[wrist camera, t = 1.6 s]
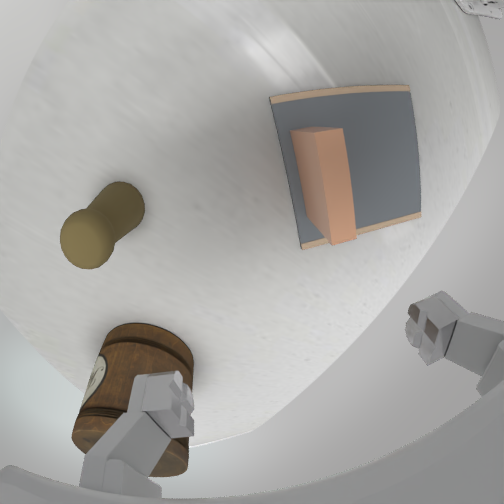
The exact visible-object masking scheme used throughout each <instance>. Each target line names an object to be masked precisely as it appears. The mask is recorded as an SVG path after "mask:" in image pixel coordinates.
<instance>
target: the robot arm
mask: <svg viewBox="0 0 504 504" xmlns="http://www.w3.org/2000/svg"><path fill="white" fill-rule="evenodd" d="M455 1H456V2H457V3H458V5H459V6H460V7H461V9H462V10H463V11H464V12H465V13H467V14H473V15H480V16H485V17H491V18H495V19H501V18H502V11H501V8H502V7H504V0H455ZM408 314H409V315H410V318H409V320H408V321H407V323H406V329H405V331H406V336H407V338H408V341H409V342H410V344H411V345H412V346H414V347H416V348H419V353H418V354H419V355H420V357H421V358H422V359H423V361H424V362H425V363H426V365H427V366H428V365H430V364H432V363H434V362H436V361H438V360H440V359H441V358H444V357H445V358H446V359H448V360H450V361H452V362H454V363H456V364H458V365H460V366H462V367H464V368H466V369H468V370H470V371H472V372H474V373H476V374H478V375H480V376H482V378H481V379H480V381H479V383H478V385H477V388H476V389H477V390H478V392H479V393H480V395H481V396H482V398H480V399H479V400H477V401H476V402H475V403H474V404H472V405H471V406H469V407H468V408H467V409H465V410H464V411H463V412H461V413H459V414H458V415H457V416H455V417H454V418H452V419H450V420H449V421H447V422H446V423H444V424H443V425H441V426H440V427H438V428H436V429H434V430H433V431H431V432H429V433H428V434H426V435H424V436H422V437H420V438H419V439H417V440H415V441H413V442H411V443H409V444H407V445H405V446H403V447H401V448H399V449H397V450H395V451H393V452H391V453H389V454H387V455H384V456H382V457H380V458H378V459H375V460H373V461H370V462H368V463H365V464H363V465H361V466H358V467H355V468H352V469H350V470H347V471H344V472H341V473H338V474H335V475H332V476H329V477H326V478H322V479H319V480H316V481H311V482H308V483H304V484H300V485H296V486H291V487H287V488H282V489H277V490H272V491H267V492H261V493H254V494H248V495H239V496H229V497H218V498H198V499H167V498H161V486H160V485H159V484H157V483H155V482H154V481H152V480H150V479H149V478H148V477H149V475H150V474H151V472H152V470H153V469H154V467H155V466H156V464H157V462H158V461H159V459H160V457H161V456H162V454H163V453H164V451H165V449H166V448H167V446H168V444H169V443H170V441H171V439H170V438H181V437H190V436H194V420H193V418H192V417H191V416H190V414H191V413H192V412H193V410H194V400H193V395H192V392H191V390H190V388H189V386H188V385H187V384H185V383H183V382H182V381H183V377H182V375H181V374H180V372H179V371H169V372H161V373H151V374H144V375H137V376H136V377H135V378H134V382H133V387H132V391H131V396H130V401H129V405H128V410H127V413H123V414H122V415H121V416H120V417H119V418H118V420H117V421H116V422H115V423H114V424H113V425H112V426H111V427H110V428H109V429H108V431H107V432H106V433H105V434H104V435H103V436H102V437H101V438H100V439H99V440H98V441H97V443H96V444H95V445H94V446H93V447H92V448H91V449H90V450H89V451H88V452H87V453H86V455H85V458H84V462H83V467H82V473H81V478H80V484H79V487H78V486H74V485H69V484H66V483H62V482H59V481H55V480H52V479H49V478H46V477H43V476H40V475H37V474H34V473H31V472H28V471H26V470H24V469H21V468H19V467H16V466H12V465H8V466H6V467H4V468H3V469H2V470H0V504H504V321H501V320H498V319H494V318H491V317H487V316H484V315H480V314H477V313H473V312H471V313H468V312H467V311H466V310H465V309H464V308H463V307H462V306H461V305H460V304H458V303H457V302H456V301H455V300H454V299H453V298H452V297H451V296H450V295H448V294H447V293H446V292H444V291H440V292H438V293H436V294H434V295H432V296H429V297H427V298H425V299H422V300H420V301H418V302H416V303H413V304H411V305H410V307H409V310H408Z"/></svg>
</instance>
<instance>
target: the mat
mask: <svg viewBox="0 0 504 504" xmlns="http://www.w3.org/2000/svg"><path fill="white" fill-rule="evenodd" d="M269 99H270V103H271V107H272V111H273V115H274V119H275V124H276V128H277V132H278V136H279V141H280V145H281V149H282V154H283V158H284V163H285V168H286V172H287V177H288V182H289V187H290V192H291V197H292V202H293V207H294V212H295V217H296V222H297V228H298V233H299V239H300V244H301V249H302V250H305V249H308V248H312V247H316V246H319V245H323V244H327V243H329V241H328V240H327V239H326V238H325V237H324V236H323V234H322V233H321V232H320V231H319V230H318V229H317V228H316V226H315V225H314V224H313V223H312V222H311V221H310V220H309V218H308V217H307V214H306V209H305V203H304V198H303V192H302V187H301V182H300V176H299V171H298V166H297V162H296V157H295V152H294V147H293V143H292V138H291V134H290V130H295V129H301V128H306V127H332V128H343V133H344V139H345V145H346V151H347V157H348V164H349V171H350V178H351V186H352V194H353V203H354V213H355V224H356V235H359V234H363V233H366V232H370V231H374V230H377V229H381V228H384V227H388V226H391V225H395V224H398V223H402V222H406V221H409V220H413V219H416V218H420V217H421V185H420V166H419V153H418V142H417V133H416V125H415V118H414V112H413V105H412V100H411V94H410V87H409V85H370V86H351V87H338V88H328V89H319V90H311V91H303V92H296V93H290V94H284V95H278V96H272V97H269Z"/></svg>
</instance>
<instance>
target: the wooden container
mask: <svg viewBox="0 0 504 504" xmlns="http://www.w3.org/2000/svg"><path fill="white" fill-rule="evenodd" d="M193 367H194V362H193V357H192V354H191V352H190V350H189V349H188V347H187V346H186V345H185V344H184V343H183V342H182V341H181V340H180V339H179V338H178V337H176V336H175V335H173V334H172V333H170V332H168V331H166V330H164V329H161V328H158V327H155V326H151V325H147V324H139V323H133V324H125V325H121V326H118V327H116V328H114V329H113V330H112V331H111V332H110V333H109V334H108V335H107V337H106V339H105V341H104V343H103V346H102V348H101V351H100V353H99V355H98V357H97V360H96V362H95V365H94V368H93V370H92V373H91V376H90V379H89V382H88V386H87V389H86V392H85V395H84V399H83V402H82V405H81V408H80V412H79V414H78V417H77V419H76V422H75V425H74V429H73V432H72V441H73V442H74V444H75V445H76V446H77V447H78V448H79V449H80V450H81V451H82V452H83V453H85V454H86V453H87V452H88V451H89V450H90V449H91V448H92V447H93V446H94V445H95V444H96V443H97V441H98V440H99V439H100V438H101V437H102V436H103V435H104V434H105V433H106V432H107V431H108V429H109V428H110V427H111V426H112V425H113V424H114V423H115V422H116V421H117V420H118V418H119V417H120V416H121V415H122V414H123V413H127V410H128V405H129V401H130V396H131V391H132V387H133V382H134V378H135V377H136V376H137V375H144V374H151V373H161V372H169V371H179V372H180V374H181V375H182V377H183V381H182V382H183V383H185V384H187V385H188V386H189V388H190V390H191V392H192V385H193ZM170 439H171V441H170V443H169V444H168V446H167V448H166V449H165V451H164V453H163V454H162V456H161V457H160V459H159V461H158V462H157V464H156V466H155V467H154V469H153V470H152V472H151V474H150V475H149V477H170V476H177V475H180V474H182V473H184V472H185V471H186V470H187V467H188V459H189V454H188V453H189V446H188V443H189V437H181V438H170Z"/></svg>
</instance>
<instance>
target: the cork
mask: <svg viewBox="0 0 504 504" xmlns="http://www.w3.org/2000/svg"><path fill="white" fill-rule="evenodd" d="M144 212H145V207H144V201H143V198H142V195H141V194H140V193H139V191H138V190H137V189H136V188H135V187H134V186H132V185H131V184H128V183H125V182H114V183H111V184H109V185H108V186H106V187H105V188H104V189H103V190H102V191H101V192H100V193H99V195H98V196H97V197H96V198H95V199H94V200H93V201H92V203H91V204H90V205H89V206H88V207H87V208H86V209H81V210H79V211H76V212H74V213H73V214H71V215H70V216H69V217H68V218H67V219H66V221H65V222H64V224H63V226H62V229H61V234H60V243H61V249H62V251H63V253H64V255H65V257H66V258H67V259H68V260H69V262H71V263H72V264H73V265H75V266H77V267H79V268H82V269H94V268H98V267H100V266H101V265H103V264H104V263H105V262H106V261H107V260H108V259H109V257H110V256H111V254H112V252H113V250H114V245H115V243H116V242H117V241H118V240H120V239H121V238H122V237H123V236H125V235H126V234H127V233H129V232H130V231H131V230H133V229H134V228H135V227H137V226H138V225H139V224H140V222H141V221H142V219H143V216H144Z"/></svg>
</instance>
